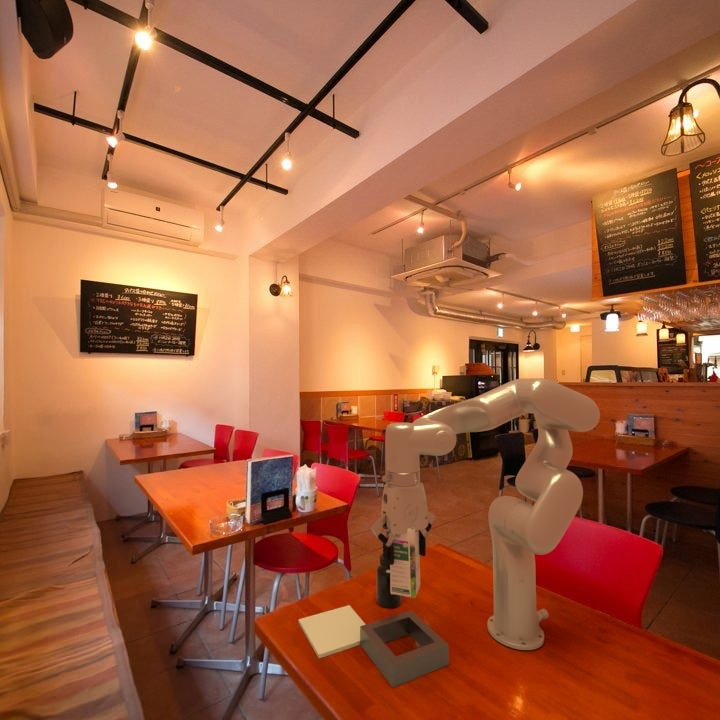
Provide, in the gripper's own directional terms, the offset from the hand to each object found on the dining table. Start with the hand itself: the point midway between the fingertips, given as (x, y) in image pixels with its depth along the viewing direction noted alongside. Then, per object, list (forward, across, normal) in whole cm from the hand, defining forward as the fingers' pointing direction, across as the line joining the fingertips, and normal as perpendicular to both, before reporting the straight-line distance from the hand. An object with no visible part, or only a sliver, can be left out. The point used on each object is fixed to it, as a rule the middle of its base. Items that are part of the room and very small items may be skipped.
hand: (404, 557), depth 86 cm
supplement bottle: (+21, +7, +19) cm, 29 cm away
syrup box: (+7, 0, 0) cm, 7 cm away
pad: (+20, -11, +14) cm, 27 cm away
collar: (+21, -1, 0) cm, 21 cm away
